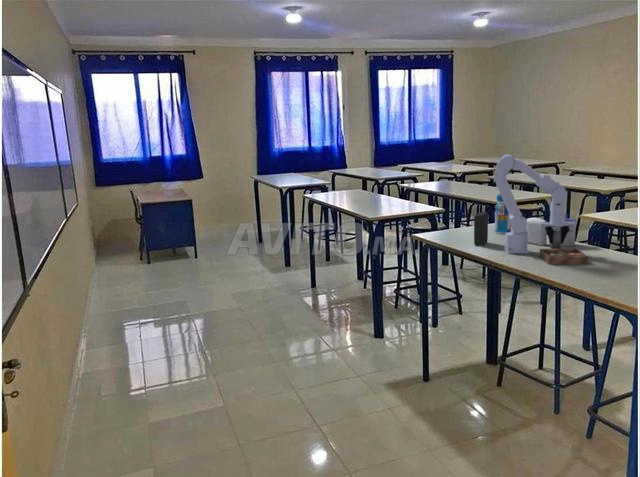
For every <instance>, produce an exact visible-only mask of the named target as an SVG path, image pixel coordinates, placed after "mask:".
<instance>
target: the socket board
mask: <svg viewBox="0 0 640 477" xmlns="http://www.w3.org/2000/svg"><path fill="white" fill-rule="evenodd" d="M539 256H540V258H541V259H542V260H543V261H545V262H546V263H547V265H586V264H589V263H588V260H589V256H588V255H586V254H585V253H584V252H582V251H581V250H580V249H578V248H576V247H575V248H574V247H570V248H569V247H567V248H564V247H563V248H562V247H561V249H551V248H539Z"/></svg>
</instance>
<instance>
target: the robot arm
mask: <svg viewBox="0 0 640 477" xmlns="http://www.w3.org/2000/svg"><path fill="white" fill-rule="evenodd" d="M511 170H513V171H520V172H522V173H523V174H525V175H527V176H528V177H529V178H531V179H532V180H534V181H535V185H536V186H537V187H539V188H540V189H541V190H543V191H544V192H546V193H547V194H551V202H550V219H549V221H546V222H545V223H539V227H540V228H545V230H546V232H547V237H548V242H549V244H550V245H551V244H552V237H553V231H554V230H553V229H552V227H560V231H562V237H561V244H563V242H564V239H565V237H566V235H567V233H568V232H569V230H570V228H569V227H575V222H564V221H565V217H566V216H565V214H566V197H567V189H566V188H565V186H564V185H563V184H560V182H559V181H556V180H555V179H553V178H551V175H549V174H545V173H542V174H540V173H539V172H537V171H536V170H535V169H534V168H532V167H531V166H529V165H528V164H527V163H526V162H524V161H523V160H521V159H519V158H518V157H514V156H513V155H512V154H509V153H505V154H504V155H502V156H501V158H499V160H498V162H497V163H496V167H495V172H494V175H493V180H494V182H495V184H496V187H497V189H498V191H499V194H501V196H502V199H503V201H504V204H505V206H506V208H507V211H508V213H509V216H510V220H511V232H509V233H505V234H504V251H505V252H506V253H507V254H530V253H531V252H530V250H528V242H527V236H528V231H527V230H526V227H527V226H526V225H527V218H526V217H524V216H523V214H522V212H521V210H520V209H519V206H518V204H517V201H516V199H515V196H514V194H513V192H512V190H511V186H510V184H509V182H508V180H507V176H508V174H509V172H510V171H511Z"/></svg>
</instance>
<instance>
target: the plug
mask: <svg viewBox="0 0 640 477" xmlns="http://www.w3.org/2000/svg"><path fill="white" fill-rule="evenodd" d="M561 237H562V231H560V229H554V231H553V237H552V244H550V249H562V246H561Z"/></svg>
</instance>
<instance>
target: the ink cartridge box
mask: <svg viewBox="0 0 640 477" xmlns="http://www.w3.org/2000/svg"><path fill="white" fill-rule="evenodd" d="M564 222H575V227H569V228H570V230H569V232H568V233H567V235H566V237H565V239H564V242H563V244H561V247H564V246H565V247H569V246H570V247H575V245H576V244H575V243H576V229H577V228H576V226H577V224H576V223H577V220H576V219H575V218H572V217H571V218H568V214H567V213H565V221H564ZM552 229H553V230H554V229H560V227H552Z"/></svg>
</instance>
